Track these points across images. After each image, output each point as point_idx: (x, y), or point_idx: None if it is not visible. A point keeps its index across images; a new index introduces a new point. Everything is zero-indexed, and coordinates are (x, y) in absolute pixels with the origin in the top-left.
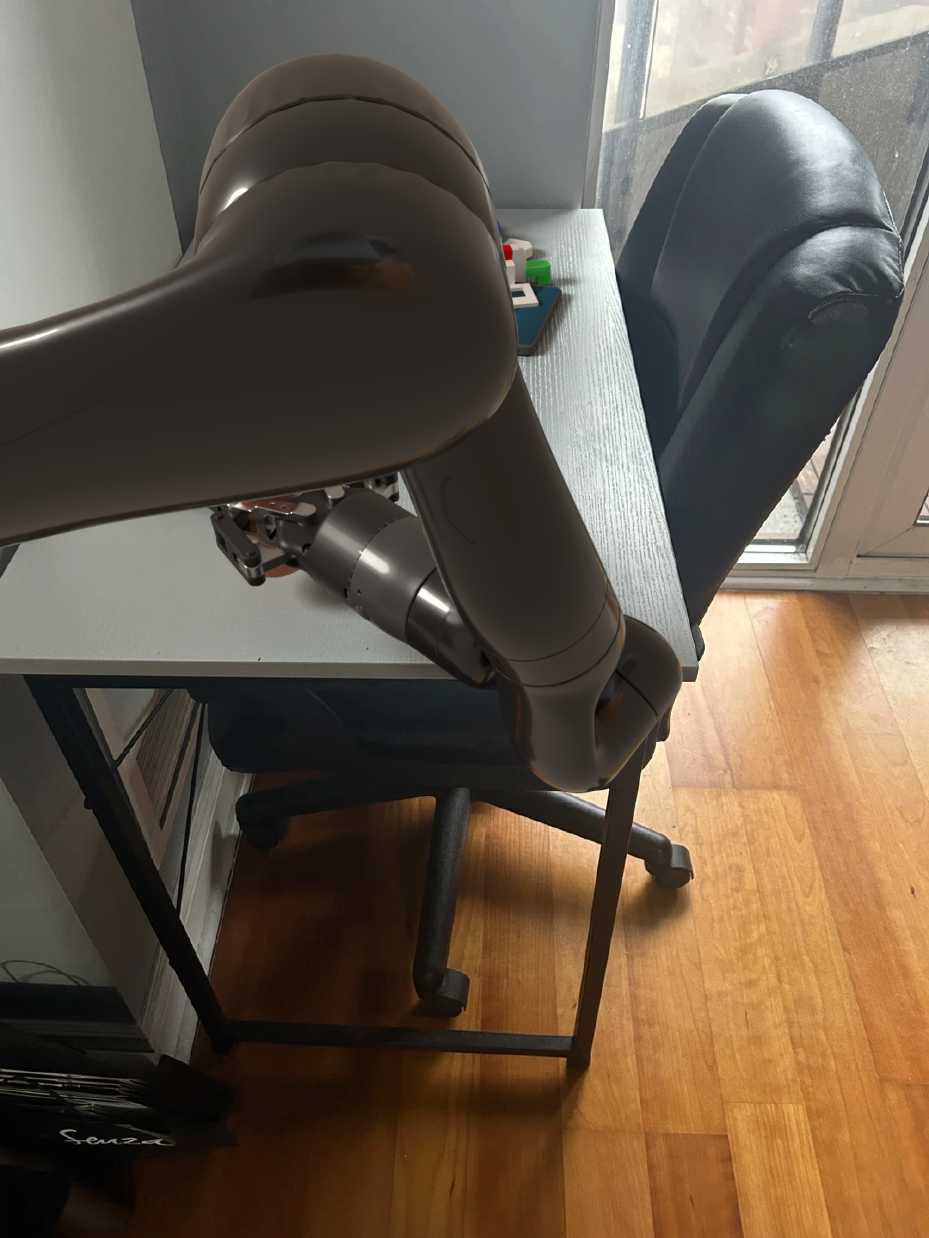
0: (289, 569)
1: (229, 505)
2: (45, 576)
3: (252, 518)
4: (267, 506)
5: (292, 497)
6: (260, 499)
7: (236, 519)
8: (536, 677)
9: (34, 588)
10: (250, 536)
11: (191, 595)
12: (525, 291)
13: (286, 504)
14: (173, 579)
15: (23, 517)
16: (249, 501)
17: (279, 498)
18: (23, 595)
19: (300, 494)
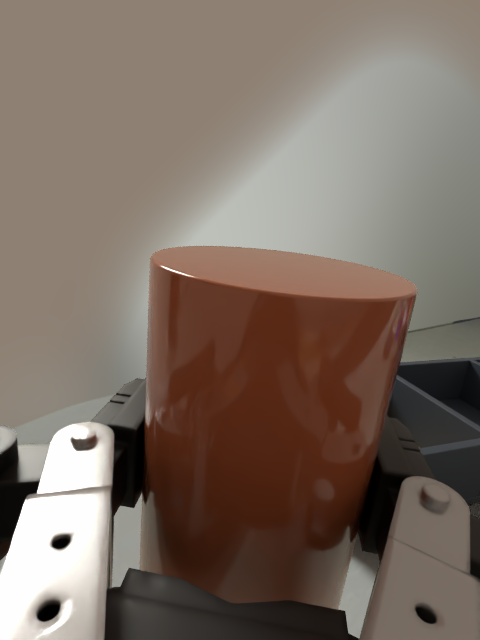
0: None
1: (56, 437)
2: (91, 418)
3: (143, 529)
4: (35, 534)
5: (270, 570)
6: (163, 492)
7: (29, 492)
8: None
9: (69, 420)
10: (140, 568)
11: (116, 565)
12: None
13: (81, 607)
14: (140, 520)
15: None
16: (97, 468)
17: (216, 538)
18: (55, 419)
19: (320, 579)
